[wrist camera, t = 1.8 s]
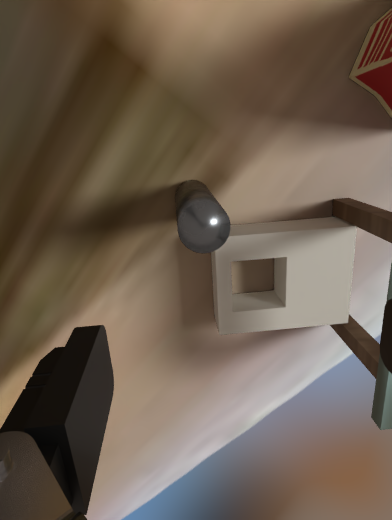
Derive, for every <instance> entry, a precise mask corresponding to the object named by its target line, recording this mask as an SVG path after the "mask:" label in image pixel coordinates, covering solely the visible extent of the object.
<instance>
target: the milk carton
mask: <svg viewBox="0 0 392 520" xmlns="http://www.w3.org/2000/svg"><path fill="white" fill-rule="evenodd" d="M349 78H350V79H352V80H353V81H354V82H356V83H357V84H359V85H360V86H362V87H363V88H365V89H366V90H367V91H369V92H370V93H372V94H373V95H375V97H376V98H377V99H378V101H379V102H380V103H381V105H382V106H383V107H384V109H385V110H386V111H387V113H388V114H389V115H390V117H391V118H392V8H391V9H390V10H389V11H388V12H386V13H385V14H384V15H383V16H382V17H381V18H380V19H378V20H377V21H376V22H375V23H374V24H373V25H372V26H371V27H370V29H369V31H368V33H367V36H366V38H365V40H364V43H363V45H362V47H361V50H360V52H359V54H358V57H357V59H356V61H355V64H354V66H353V69H352V71H351V73H350V76H349Z"/></svg>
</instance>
